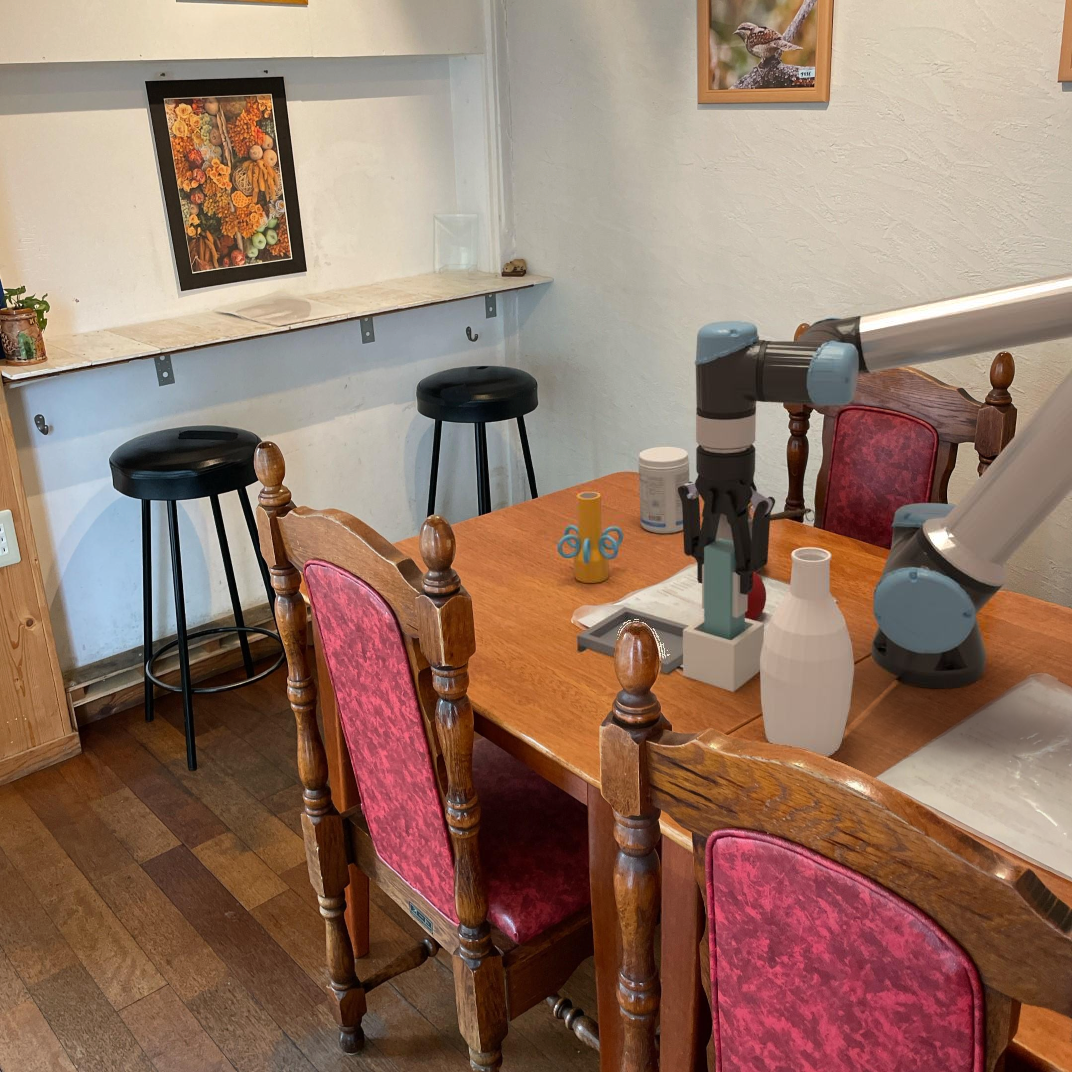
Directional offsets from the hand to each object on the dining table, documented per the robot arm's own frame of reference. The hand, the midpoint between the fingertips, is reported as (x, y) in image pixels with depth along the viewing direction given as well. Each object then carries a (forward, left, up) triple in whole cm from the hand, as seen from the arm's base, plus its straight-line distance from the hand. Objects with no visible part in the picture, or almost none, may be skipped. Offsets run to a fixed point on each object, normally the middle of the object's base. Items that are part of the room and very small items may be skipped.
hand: (724, 609), depth 145 cm
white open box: (0, 0, -11) cm, 11 cm away
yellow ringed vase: (+37, -18, -11) cm, 43 cm away
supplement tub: (+40, -45, -11) cm, 62 cm away
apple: (+8, -17, -11) cm, 22 cm away
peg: (0, 0, -9) cm, 9 cm away
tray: (+14, -1, -11) cm, 18 cm away
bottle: (-16, +8, -11) cm, 21 cm away
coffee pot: (+13, -33, -11) cm, 37 cm away
